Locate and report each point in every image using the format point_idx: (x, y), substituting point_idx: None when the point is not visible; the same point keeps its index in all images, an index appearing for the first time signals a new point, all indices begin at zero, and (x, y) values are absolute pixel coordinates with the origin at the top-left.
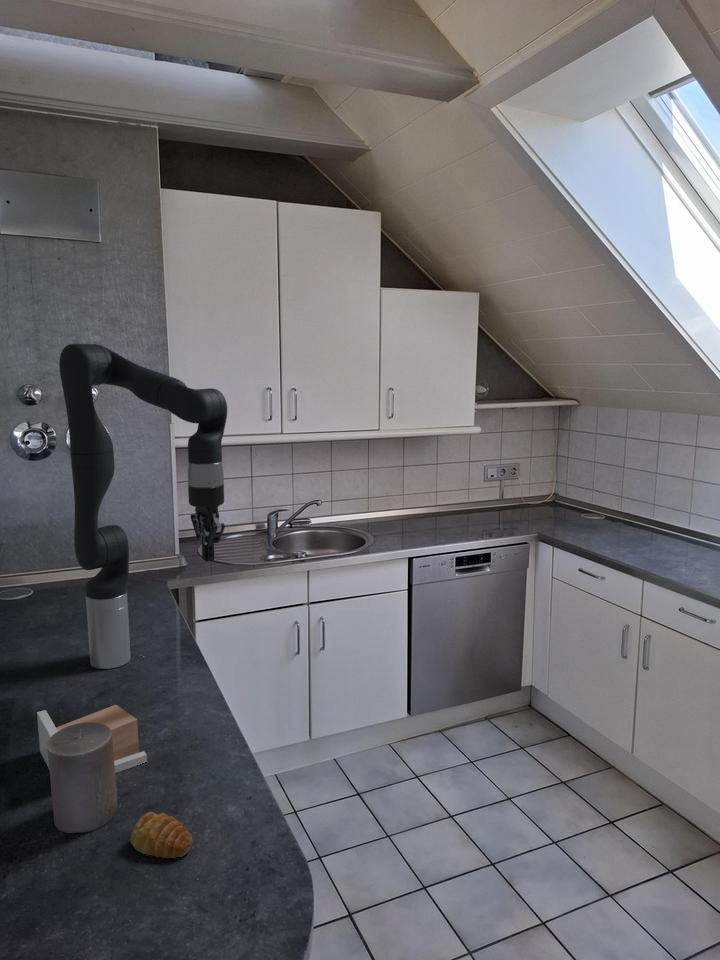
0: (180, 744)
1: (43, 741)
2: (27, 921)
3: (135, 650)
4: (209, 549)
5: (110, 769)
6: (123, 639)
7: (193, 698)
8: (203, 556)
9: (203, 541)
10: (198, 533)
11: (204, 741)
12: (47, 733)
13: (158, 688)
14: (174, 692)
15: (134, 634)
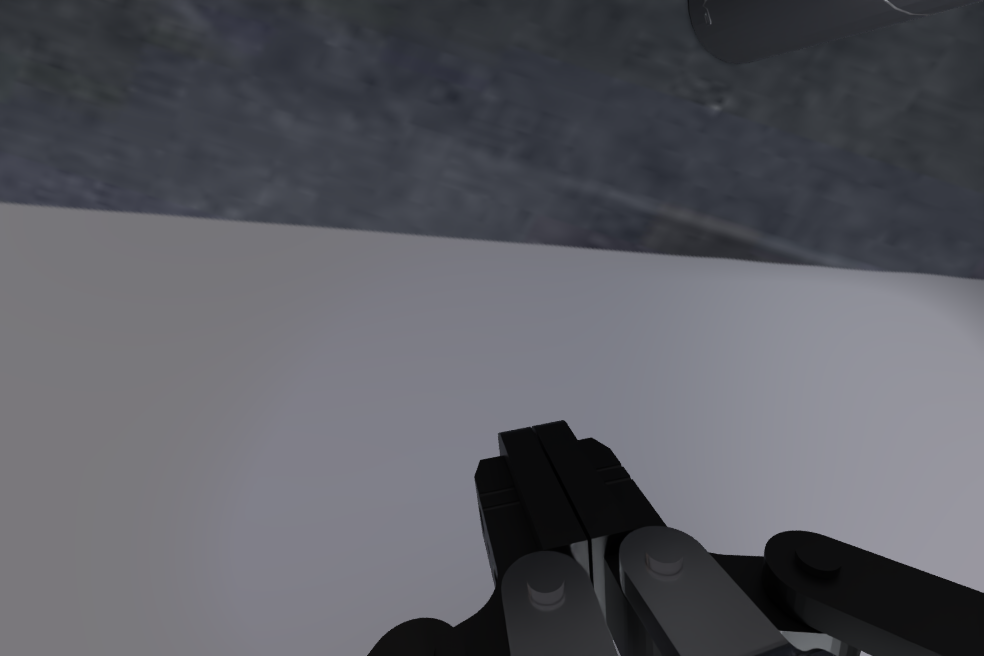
0: (81, 37)
1: None
2: None
3: (769, 94)
4: (491, 560)
5: None
6: (750, 6)
7: (368, 166)
8: (542, 444)
9: (577, 590)
10: (841, 622)
11: (78, 114)
12: None
13: (481, 85)
14: (432, 124)
15: (875, 124)
